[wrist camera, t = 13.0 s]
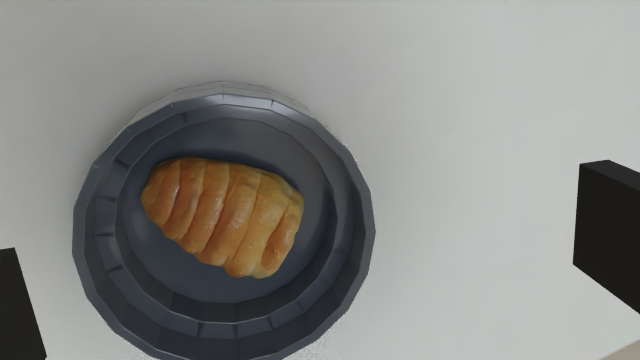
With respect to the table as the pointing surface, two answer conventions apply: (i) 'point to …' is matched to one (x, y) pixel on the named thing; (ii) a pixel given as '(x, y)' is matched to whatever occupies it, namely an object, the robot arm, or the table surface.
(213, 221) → the pastry
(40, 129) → the table surface
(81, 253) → the bowl
